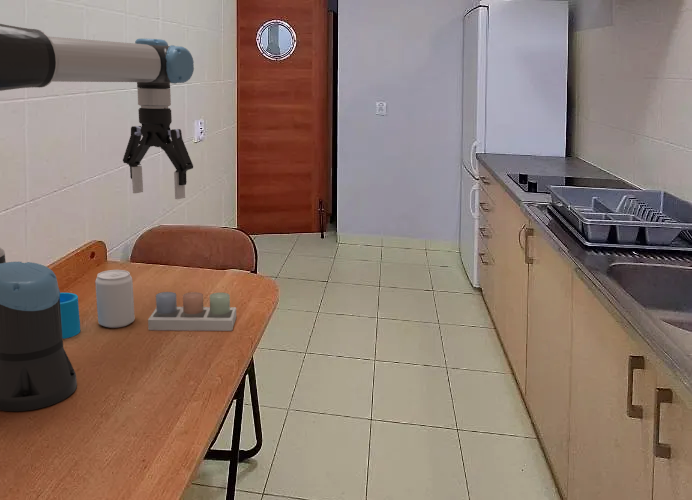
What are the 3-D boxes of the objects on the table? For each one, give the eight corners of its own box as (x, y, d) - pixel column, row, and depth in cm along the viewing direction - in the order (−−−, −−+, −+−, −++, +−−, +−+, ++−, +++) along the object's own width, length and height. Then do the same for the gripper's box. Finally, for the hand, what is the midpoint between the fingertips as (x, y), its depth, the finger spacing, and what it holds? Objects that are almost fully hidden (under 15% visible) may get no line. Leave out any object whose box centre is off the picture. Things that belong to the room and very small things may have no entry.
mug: (72, 339, 144) (70, 304, 142) (35, 339, 144) (31, 304, 142) (91, 320, 156) (88, 287, 154) (56, 319, 155) (53, 287, 153)
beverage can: (90, 324, 153) (87, 275, 150) (117, 314, 160) (114, 267, 157) (115, 331, 149) (112, 281, 146) (142, 320, 156) (139, 272, 153)
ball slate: (174, 313, 152) (174, 298, 151) (154, 313, 152) (153, 298, 151) (178, 307, 157) (178, 292, 156) (159, 306, 156) (158, 291, 155)
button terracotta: (201, 314, 152) (201, 298, 152) (181, 313, 152) (181, 298, 151) (204, 307, 157) (204, 292, 156) (185, 307, 157) (184, 292, 156)
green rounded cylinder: (228, 314, 153) (228, 298, 152) (208, 314, 153) (208, 298, 152) (230, 307, 157) (230, 292, 156) (211, 307, 157) (211, 292, 156)
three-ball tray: (232, 330, 152) (231, 320, 151) (148, 330, 151) (148, 319, 150) (236, 317, 160) (236, 307, 160) (157, 316, 159) (157, 306, 159)
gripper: (206, 109, 154) (208, 198, 159) (127, 104, 165) (132, 188, 170) (185, 110, 147) (188, 203, 152) (104, 105, 158) (109, 192, 163)
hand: (158, 195), depth 161 cm, fingers open, 13 cm apart
